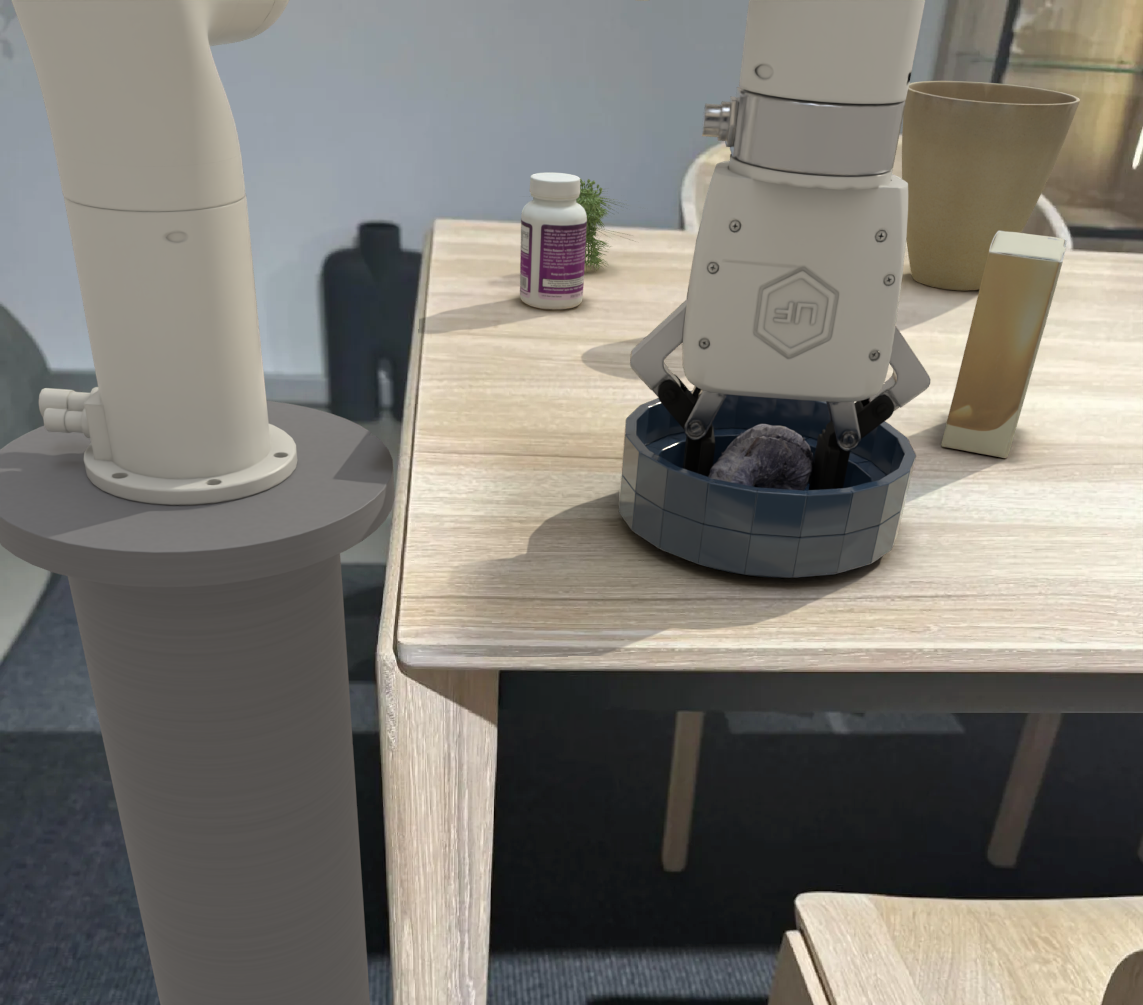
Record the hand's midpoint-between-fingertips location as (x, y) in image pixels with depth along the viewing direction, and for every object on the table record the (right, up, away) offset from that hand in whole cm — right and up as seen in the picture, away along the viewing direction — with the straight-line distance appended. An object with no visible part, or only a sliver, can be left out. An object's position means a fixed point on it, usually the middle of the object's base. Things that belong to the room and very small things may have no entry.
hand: (758, 503), depth 65 cm
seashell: (0, -1, 0) cm, 1 cm away
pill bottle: (-12, +24, +35) cm, 44 cm away
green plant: (-9, +31, +45) cm, 55 cm away
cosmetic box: (+17, +7, +14) cm, 23 cm away
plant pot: (+26, +32, +48) cm, 63 cm away
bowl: (0, -1, +1) cm, 1 cm away
